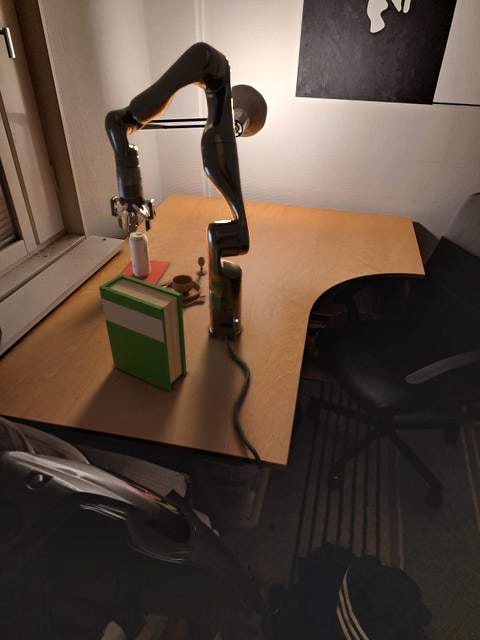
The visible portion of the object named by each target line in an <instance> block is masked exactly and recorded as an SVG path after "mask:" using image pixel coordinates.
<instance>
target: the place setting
mask: <svg viewBox="0 0 480 640" xmlns="http://www.w3.org/2000/svg"><path fill="white" fill-rule="evenodd" d="M197 264H198V266H199V267H200V269H199V271H198V272H197V275H199V276H204V275H206V274H207V273H206V271H204V268H203V267H204V266H205V264H206V259H205V257H204V256H199V257H198V258H197ZM159 286H160V287H163V286H164V288H166V289H169V290H172V291H175V292H178V293H181V294H182V301H189V300H192V299H194V298H197V299H195V300H192V301H191V302H188V303H186V304H185V305H183V307H187V306H189V305H192V304H193V303H195V302H199V301H200V302H201V301H203V300H205V299H206V298H207V295H201V296H199V295H200V293H201V291H202V286H201V284H200V283H199V282H198V281H196V280H194V278H193V277H192V276H191V275H189V274H178V275H176V276H174V277H173V278H172V279H171V280H170V281H167V282H164V283H162V284H160V285H159ZM197 296H199V297H197Z"/></svg>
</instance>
